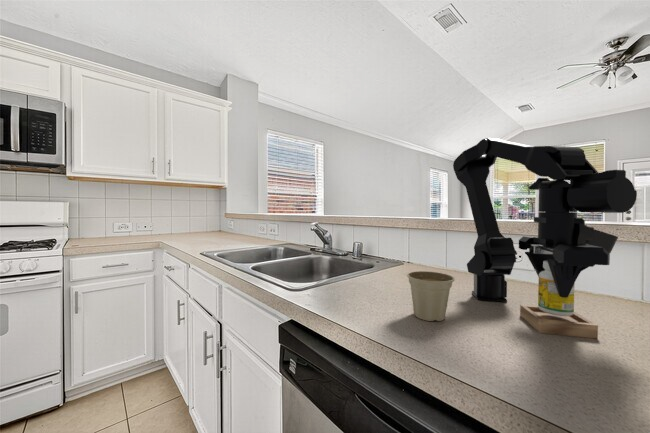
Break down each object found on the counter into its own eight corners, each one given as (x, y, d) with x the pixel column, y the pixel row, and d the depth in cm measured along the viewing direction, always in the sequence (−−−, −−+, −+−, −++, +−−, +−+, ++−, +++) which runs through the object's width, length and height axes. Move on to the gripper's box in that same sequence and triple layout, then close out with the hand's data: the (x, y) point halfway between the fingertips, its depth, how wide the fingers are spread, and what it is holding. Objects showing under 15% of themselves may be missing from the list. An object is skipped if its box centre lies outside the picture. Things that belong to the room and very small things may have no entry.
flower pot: (451, 311, 61) (451, 272, 61) (456, 328, 52) (457, 283, 52) (407, 306, 64) (407, 269, 64) (405, 321, 55) (405, 279, 55)
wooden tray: (540, 332, 50) (540, 320, 50) (520, 315, 59) (520, 304, 59) (597, 338, 48) (597, 325, 48) (568, 319, 56) (568, 308, 56)
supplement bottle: (574, 319, 50) (575, 266, 49) (537, 312, 53) (538, 262, 53) (573, 310, 54) (574, 261, 54) (538, 304, 57) (539, 258, 57)
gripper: (654, 213, 42) (650, 314, 42) (576, 211, 60) (575, 283, 60) (566, 212, 45) (564, 308, 45) (518, 211, 63) (516, 279, 63)
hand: (555, 292), depth 53 cm, fingers closed on supplement bottle, 5 cm apart
